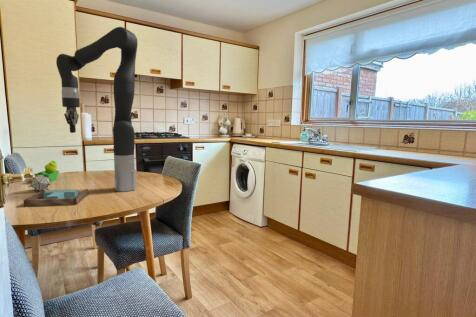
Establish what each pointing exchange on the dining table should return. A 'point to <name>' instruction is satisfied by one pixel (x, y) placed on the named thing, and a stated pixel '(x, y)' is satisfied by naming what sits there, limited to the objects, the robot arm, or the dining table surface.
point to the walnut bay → (53, 200)
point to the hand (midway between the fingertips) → (72, 132)
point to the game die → (40, 182)
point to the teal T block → (60, 194)
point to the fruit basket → (50, 171)
